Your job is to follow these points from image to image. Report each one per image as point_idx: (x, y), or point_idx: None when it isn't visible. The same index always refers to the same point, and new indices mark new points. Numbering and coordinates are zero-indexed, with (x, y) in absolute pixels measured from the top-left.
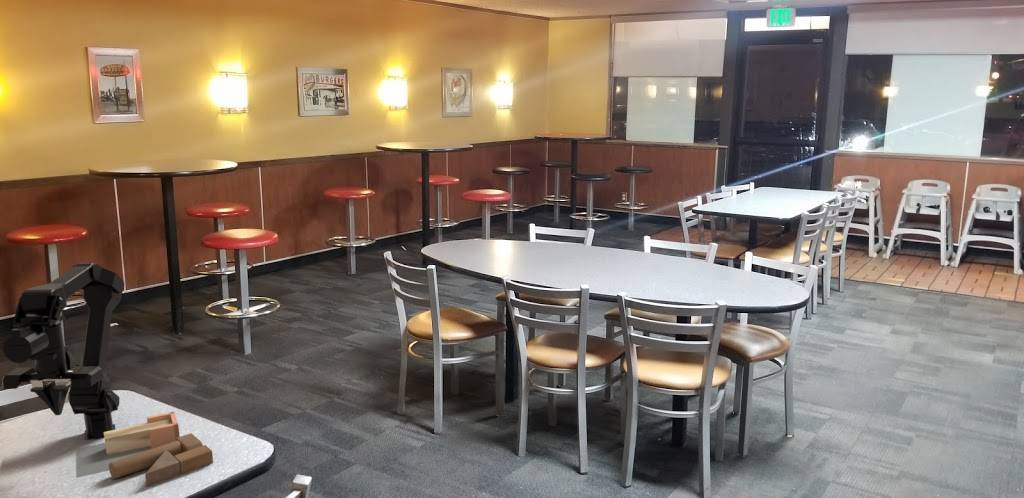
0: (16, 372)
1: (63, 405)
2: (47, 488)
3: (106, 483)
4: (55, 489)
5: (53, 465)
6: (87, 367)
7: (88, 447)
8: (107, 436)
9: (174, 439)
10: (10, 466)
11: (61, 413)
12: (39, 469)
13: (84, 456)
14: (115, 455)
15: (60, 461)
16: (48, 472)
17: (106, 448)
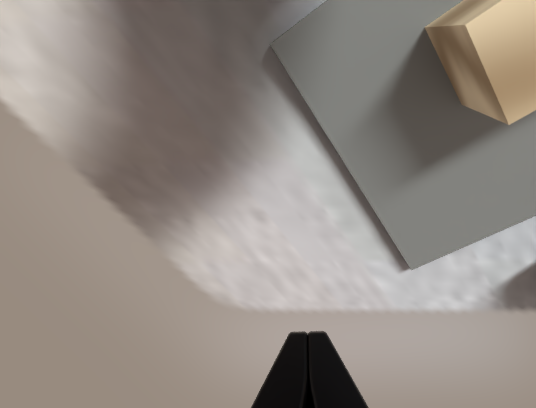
0: None
1: (360, 397)
2: (338, 305)
3: (525, 280)
4: (366, 309)
5: (255, 174)
6: None
7: (324, 24)
8: (516, 89)
9: None
10: (101, 187)
11: (324, 332)
12: (224, 203)
13: (355, 119)
14: None
15: (260, 142)
16: (273, 221)
17: (481, 111)
